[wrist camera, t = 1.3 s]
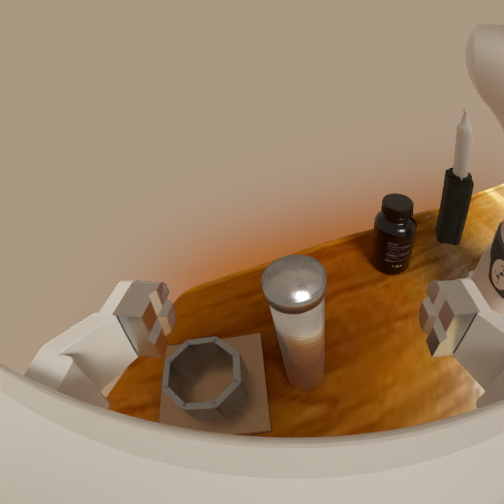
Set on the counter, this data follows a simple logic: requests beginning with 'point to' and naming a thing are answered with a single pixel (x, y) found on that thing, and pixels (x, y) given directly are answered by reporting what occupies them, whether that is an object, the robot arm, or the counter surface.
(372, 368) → the counter surface
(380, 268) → the supplement bottle
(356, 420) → the counter surface
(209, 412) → the duct collar
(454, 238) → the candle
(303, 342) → the grey tall capped cylinder
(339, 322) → the counter surface
